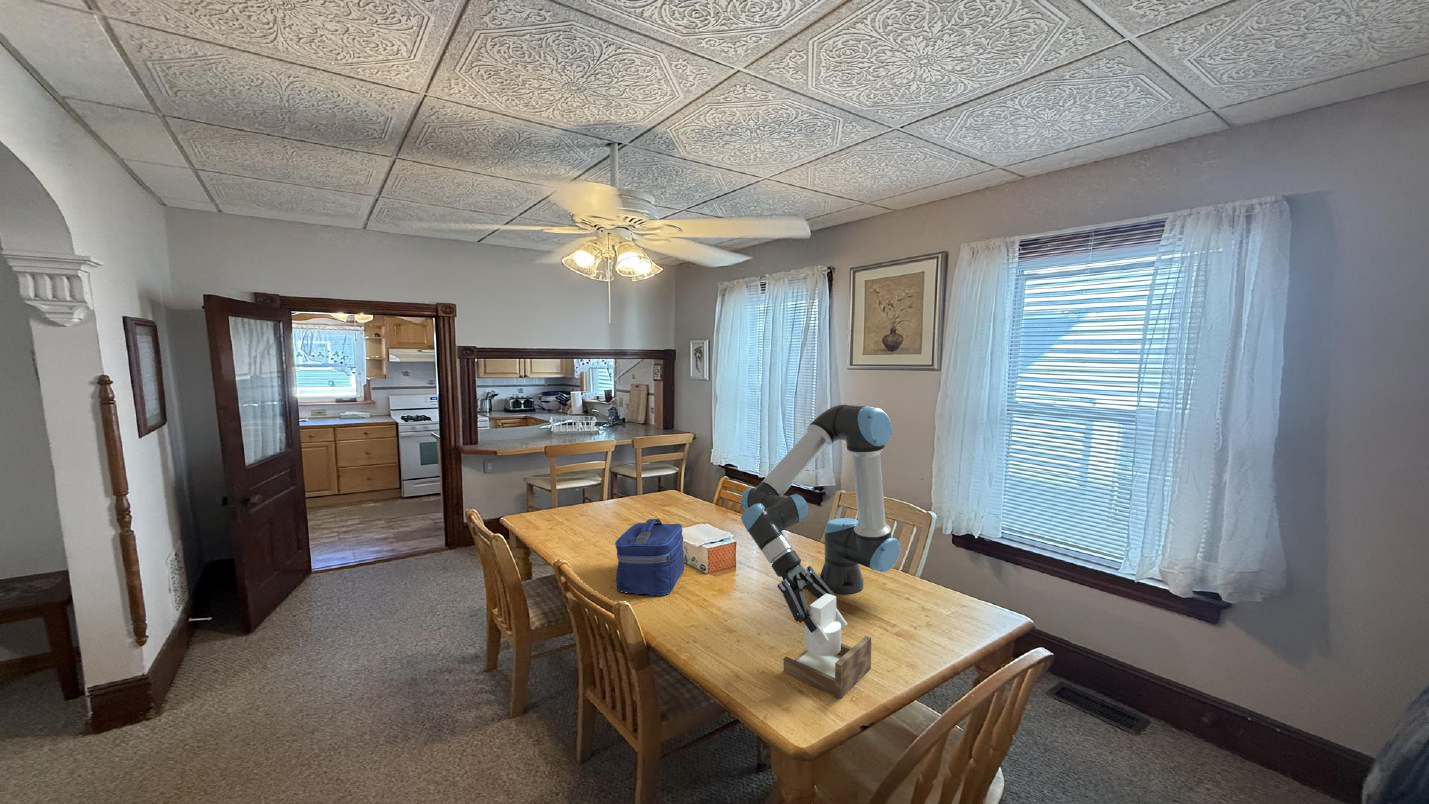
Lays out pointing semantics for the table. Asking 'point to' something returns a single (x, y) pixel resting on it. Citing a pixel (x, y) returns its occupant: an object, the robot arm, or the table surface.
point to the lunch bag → (650, 558)
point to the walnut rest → (832, 668)
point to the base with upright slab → (824, 627)
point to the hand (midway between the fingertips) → (834, 634)
